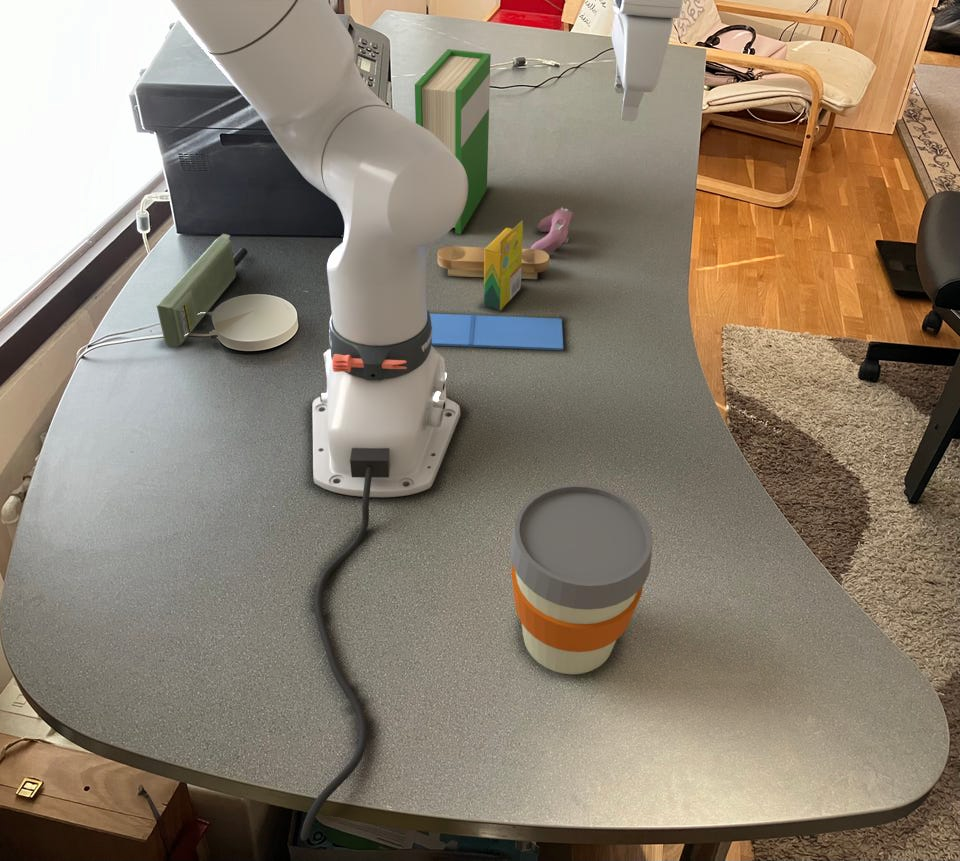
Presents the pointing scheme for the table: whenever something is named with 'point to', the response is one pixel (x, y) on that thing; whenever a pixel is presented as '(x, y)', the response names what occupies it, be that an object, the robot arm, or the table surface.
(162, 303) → the handheld radio
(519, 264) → the crayon box
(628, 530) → the reusable coffee cup
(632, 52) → the robot arm
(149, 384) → the table surface
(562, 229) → the video game controller
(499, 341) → the blue cloth
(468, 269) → the scrub brush
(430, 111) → the hardback book
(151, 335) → the table surface
